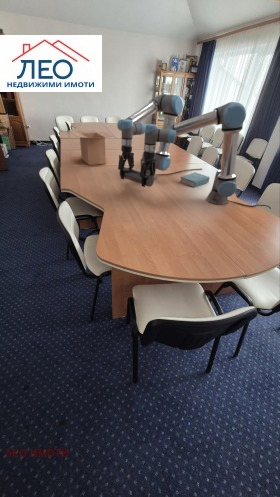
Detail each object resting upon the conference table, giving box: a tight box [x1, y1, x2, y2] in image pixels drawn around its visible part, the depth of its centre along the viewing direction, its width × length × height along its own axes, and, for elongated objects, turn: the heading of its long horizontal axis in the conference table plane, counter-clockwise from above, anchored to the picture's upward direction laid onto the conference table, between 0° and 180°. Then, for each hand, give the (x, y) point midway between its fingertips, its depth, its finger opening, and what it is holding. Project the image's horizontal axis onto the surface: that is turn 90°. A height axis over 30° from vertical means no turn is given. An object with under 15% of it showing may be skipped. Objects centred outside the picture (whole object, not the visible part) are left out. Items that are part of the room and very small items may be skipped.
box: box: [70, 129, 114, 166], centre depth 229 cm, size 44×36×27 cm
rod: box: [119, 166, 155, 188], centre depth 161 cm, size 27×8×8 cm, turn 51°
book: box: [179, 171, 210, 188], centre depth 200 cm, size 23×16×5 cm
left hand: (126, 177), depth 168 cm, fingers closed on rod, 8 cm apart
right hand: (146, 184), depth 158 cm, fingers closed on rod, 8 cm apart
